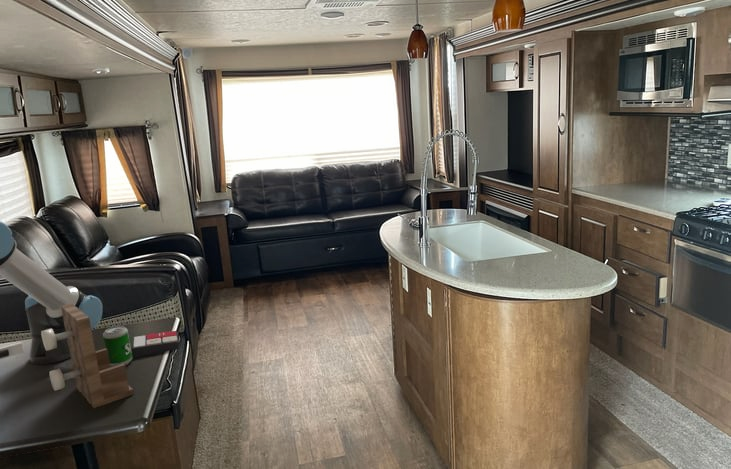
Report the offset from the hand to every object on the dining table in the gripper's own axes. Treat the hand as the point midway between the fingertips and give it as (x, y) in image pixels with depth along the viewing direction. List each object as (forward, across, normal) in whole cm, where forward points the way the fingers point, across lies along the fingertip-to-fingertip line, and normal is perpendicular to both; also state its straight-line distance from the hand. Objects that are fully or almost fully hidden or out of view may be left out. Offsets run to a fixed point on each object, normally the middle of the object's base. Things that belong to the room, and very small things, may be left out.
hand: (22, 347), depth 153 cm
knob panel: (+18, 0, -20) cm, 27 cm away
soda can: (+28, -17, -20) cm, 39 cm away
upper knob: (+10, 0, -3) cm, 10 cm away
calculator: (+42, -21, -21) cm, 51 cm away
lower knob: (+10, 0, -15) cm, 18 cm away
